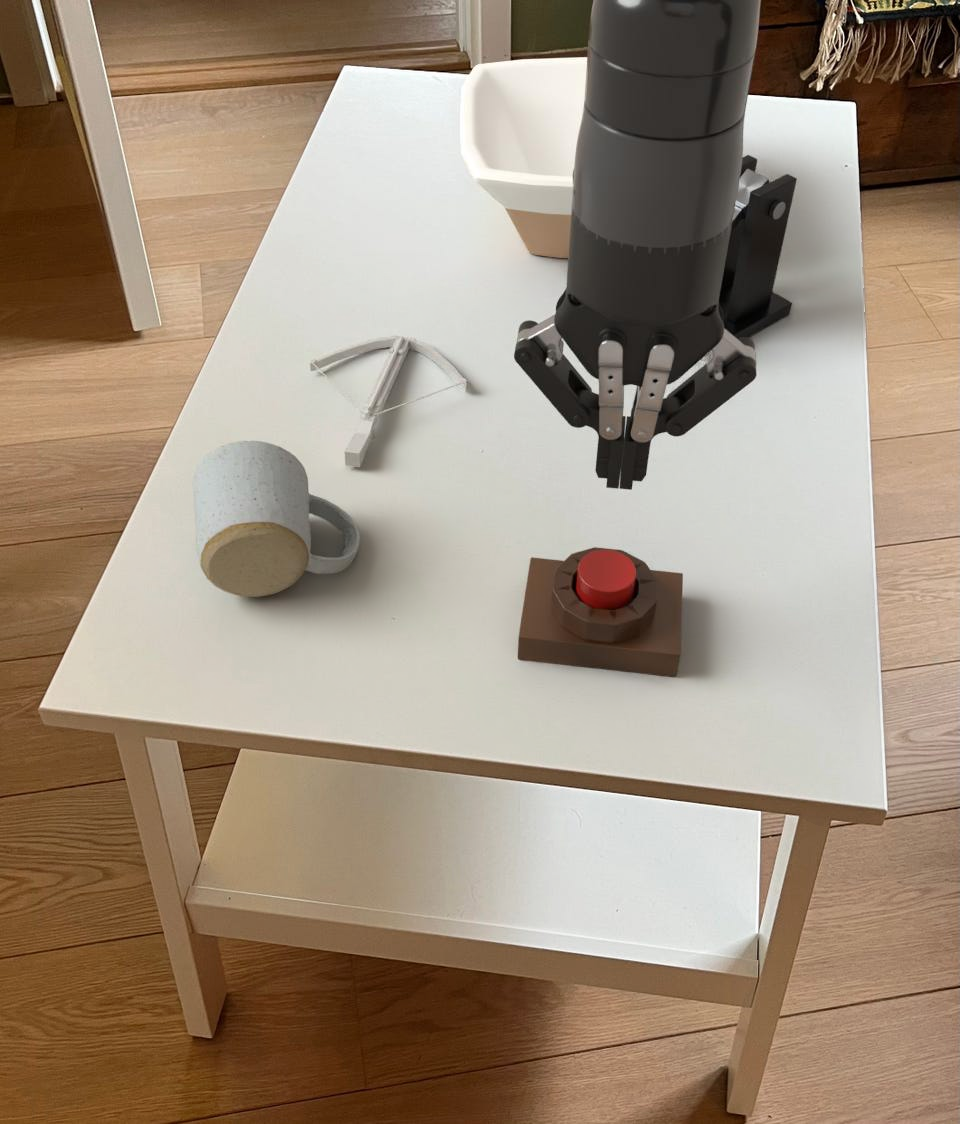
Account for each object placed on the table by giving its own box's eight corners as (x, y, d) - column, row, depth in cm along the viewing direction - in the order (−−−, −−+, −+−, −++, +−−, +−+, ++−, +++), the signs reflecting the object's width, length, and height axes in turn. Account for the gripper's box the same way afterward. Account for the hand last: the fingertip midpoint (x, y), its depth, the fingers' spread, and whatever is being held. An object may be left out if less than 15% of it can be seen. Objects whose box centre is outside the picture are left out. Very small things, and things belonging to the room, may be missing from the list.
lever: (669, 339, 95) (657, 320, 92) (640, 321, 96) (628, 302, 94) (781, 201, 94) (772, 177, 91) (750, 185, 96) (741, 162, 93)
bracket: (727, 349, 98) (754, 209, 89) (666, 312, 102) (686, 173, 92) (790, 314, 102) (822, 175, 92) (728, 279, 105) (753, 143, 96)
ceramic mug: (206, 612, 77) (188, 528, 72) (201, 526, 83) (185, 442, 77) (367, 592, 79) (362, 508, 73) (353, 509, 84) (347, 425, 79)
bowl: (460, 296, 103) (459, 184, 95) (461, 160, 120) (460, 55, 112) (732, 297, 103) (753, 185, 96) (694, 160, 120) (709, 56, 113)
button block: (678, 595, 79) (686, 553, 76) (676, 677, 74) (684, 635, 71) (529, 579, 80) (531, 537, 77) (517, 659, 75) (519, 617, 72)
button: (634, 571, 75) (637, 552, 74) (632, 613, 73) (635, 594, 72) (578, 565, 76) (580, 546, 74) (573, 607, 73) (575, 588, 72)
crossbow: (331, 343, 99) (329, 322, 98) (478, 361, 98) (479, 340, 96) (270, 456, 88) (267, 434, 86) (436, 479, 86) (436, 457, 85)
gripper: (502, 231, 53) (496, 513, 65) (802, 252, 52) (738, 535, 64) (519, 152, 58) (511, 428, 70) (792, 170, 57) (735, 447, 69)
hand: (620, 479), depth 67 cm, fingers closed
